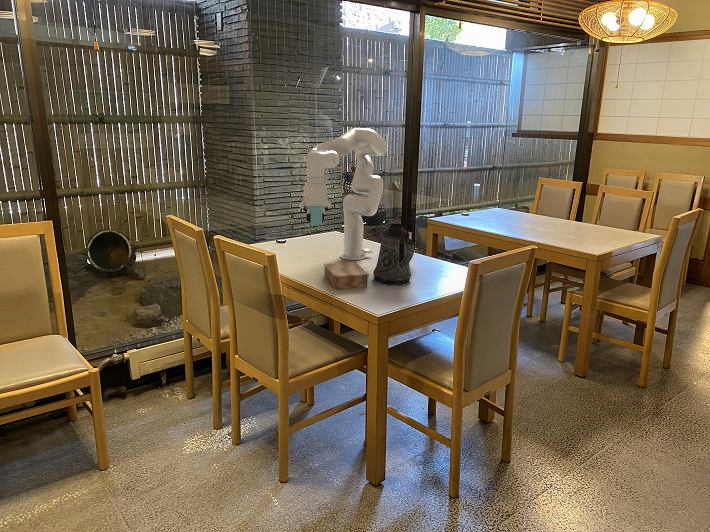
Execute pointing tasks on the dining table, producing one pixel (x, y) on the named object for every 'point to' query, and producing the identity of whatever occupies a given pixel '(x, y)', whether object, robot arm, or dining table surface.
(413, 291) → the dining table surface
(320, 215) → the teal block
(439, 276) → the dining table surface
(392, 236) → the beer stein
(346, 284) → the walnut box
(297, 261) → the dining table surface
